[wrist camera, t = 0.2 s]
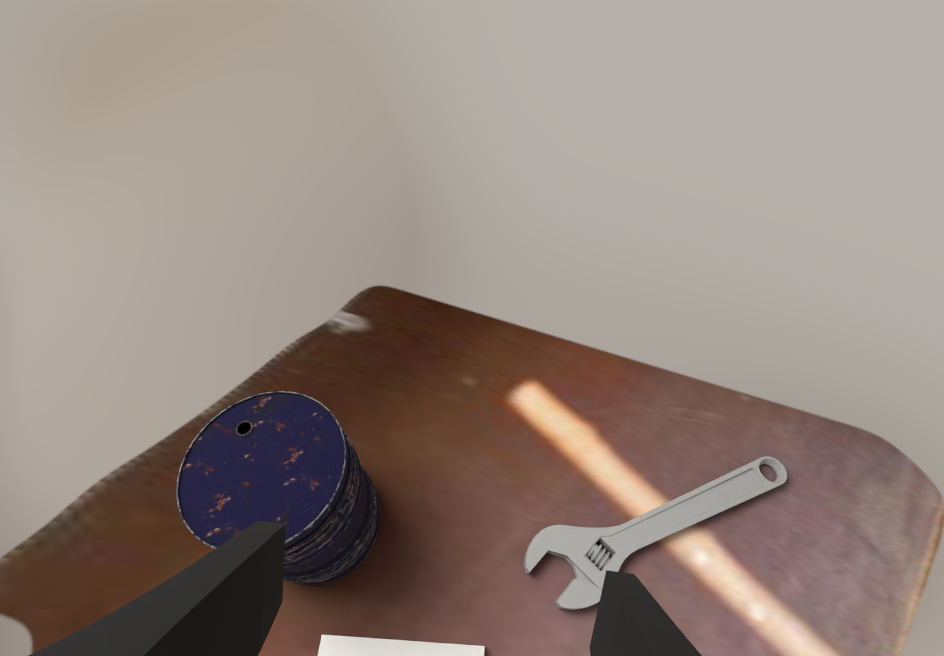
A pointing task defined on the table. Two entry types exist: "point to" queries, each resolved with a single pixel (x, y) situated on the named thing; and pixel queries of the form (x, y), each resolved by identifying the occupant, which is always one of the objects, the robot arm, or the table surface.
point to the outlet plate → (391, 647)
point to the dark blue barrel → (282, 484)
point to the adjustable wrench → (642, 531)
